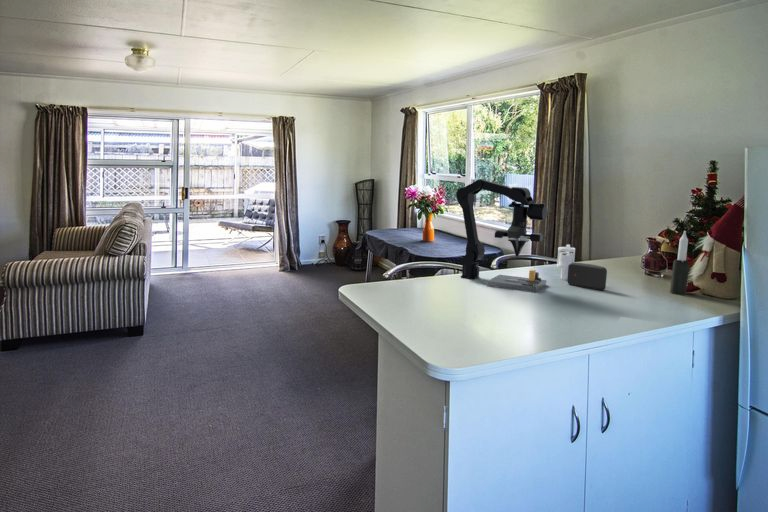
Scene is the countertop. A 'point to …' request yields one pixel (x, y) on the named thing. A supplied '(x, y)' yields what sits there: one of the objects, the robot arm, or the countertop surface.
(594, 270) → the dark rounded block
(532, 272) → the block
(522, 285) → the breaker panel
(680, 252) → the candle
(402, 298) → the countertop surface
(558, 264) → the white stepped cylinder
